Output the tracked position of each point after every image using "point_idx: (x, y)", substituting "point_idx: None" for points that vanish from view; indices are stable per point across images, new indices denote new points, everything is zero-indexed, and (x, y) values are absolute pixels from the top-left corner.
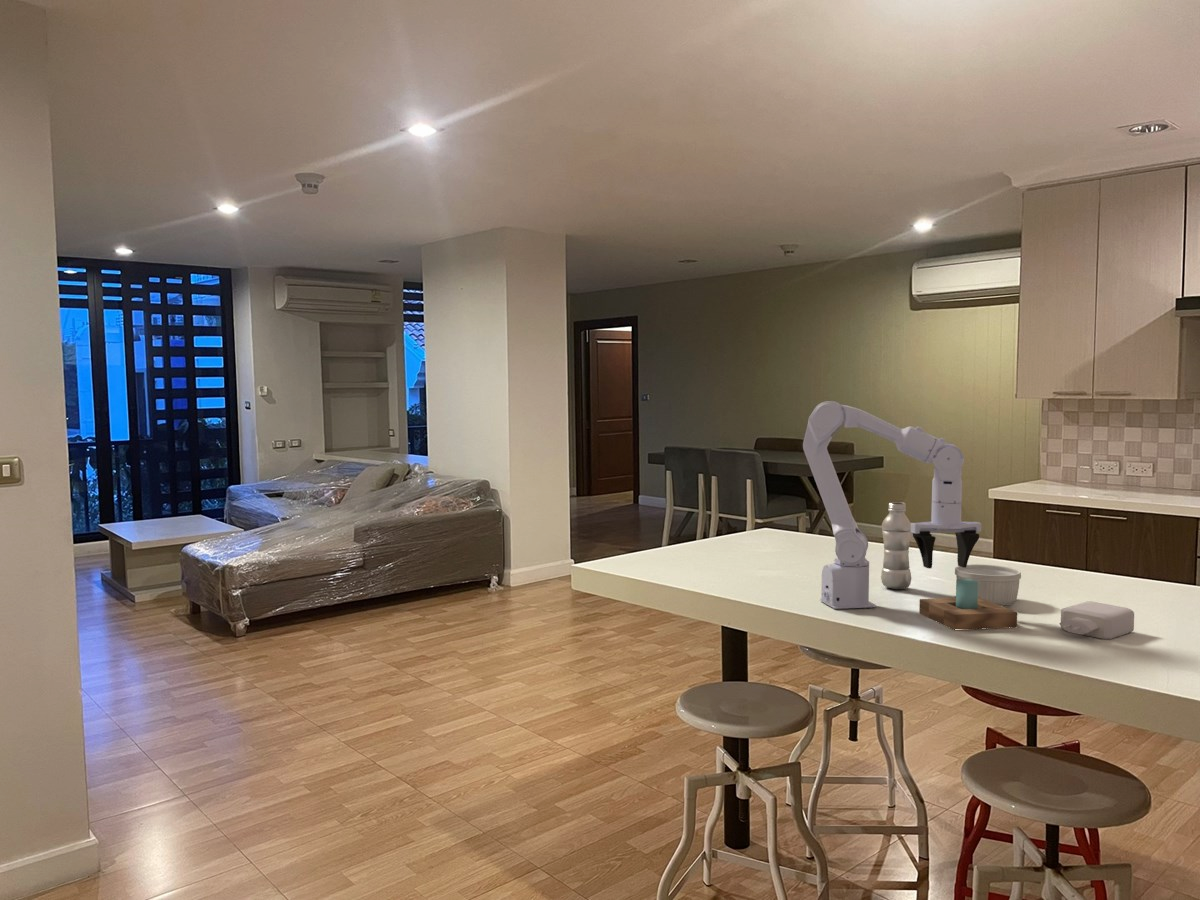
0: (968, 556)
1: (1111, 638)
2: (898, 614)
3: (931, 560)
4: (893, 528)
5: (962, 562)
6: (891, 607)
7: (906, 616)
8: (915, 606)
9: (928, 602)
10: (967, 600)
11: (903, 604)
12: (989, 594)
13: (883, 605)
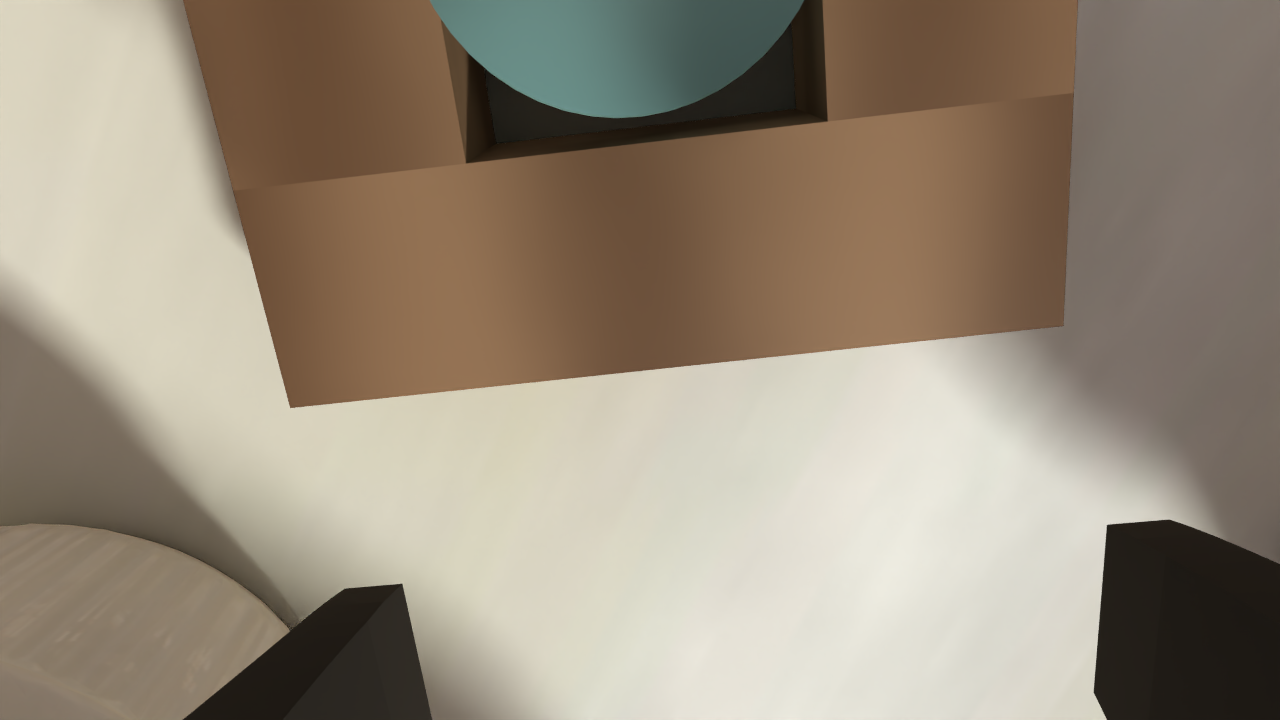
0: (203, 717)
1: None
2: (1229, 258)
3: (1251, 589)
4: None
5: (382, 676)
6: None
7: (1195, 171)
8: (881, 550)
9: (1054, 140)
10: None
11: (957, 622)
12: (98, 579)
13: None
